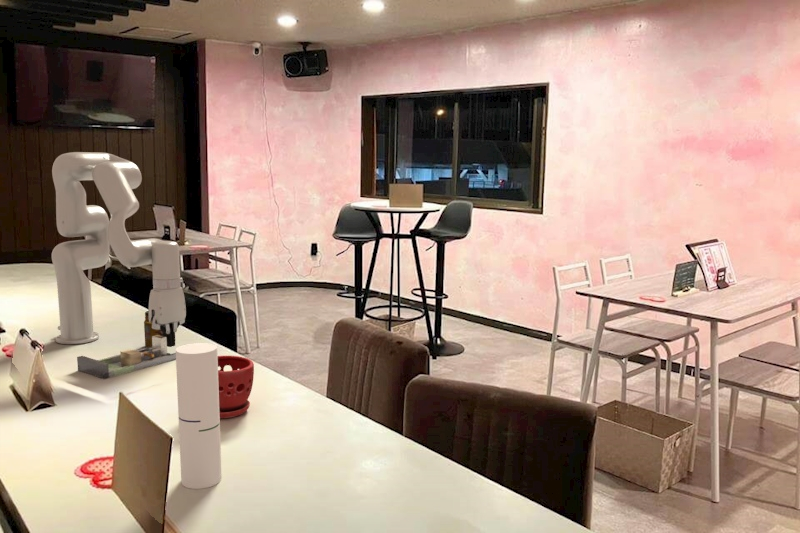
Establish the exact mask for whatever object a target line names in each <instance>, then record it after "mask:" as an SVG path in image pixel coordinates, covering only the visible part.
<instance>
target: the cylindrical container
mask: <svg viewBox="0 0 800 533" xmlns="http://www.w3.org/2000/svg"><path fill="white" fill-rule="evenodd" d="M175 353H176V359H175V364H176V365H175V366H176V367H175V368H176V387H177V388H176V389H177V409H178V411H177V412H178V413H177V414H178V433H179V435H178V436H179V456H180V457H179V458H180V459H179V460H180V483H181V485H182V486H183V487H185V488H186V489H187V488H188V489H192V490H202V489H207V488H210V487H214V486H216V485H217V484H219V483H220V482H221V480H222V478H223V477H222V476H223V475H222V457H221V456H222V455H221V453H222V451H221V450H222V448H221V446H222V445H221V421H220V420H221V418H220V414H219V385H218V370H219V367H218V356H219V355H218V346H217V345H216V344H214V343H210V342H195V343H188V344H183V345H180V346H177V347H176V348H175Z"/></svg>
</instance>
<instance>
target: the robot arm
mask: <svg viewBox="0 0 800 533" xmlns="http://www.w3.org/2000/svg"><path fill="white" fill-rule="evenodd" d="M52 164H53V165H52V169H51V174H52V181H53V184H54V189H55V215H56V218H55V220H56V228H57V232H58V233H59V235H61V236H62V237H65V238H75V237H85V239H78V240H77V239H76V240H68V241H63V242H60V243H58V244H57V245H56V246H55V247H54V248H53V249H52V252H51V261H52V266H53V269H54V272H55V278H56V287H57V298H58V299H57V301H58V312H59V314H58V315H59V325H58V326H57V330H58V331H60V334H58V335H57V336H56V337H55V342H56V343H58V344H62V345H81V344H87V343H90V342H95V341H97V340H99V338H100V334H99V333H98V332H96V331H94V317H93V303H92V302H93V301H92V287H91V282H90V279H89V278H88V277H87V276H86V274H85V272H84V271H85V270H90V269H92V270H93V269H97V268H101V267H103V266H105V265H106V264H107V263H108V261H109V259H110V252H111V250H110V248H111V249H112V251H113V253H114V255H115V257H116V258H117V260H118V261H119V262H120V264H121V265H123V266H124V267H127V268H137V267H141V266H149V265H151V266H152V285H153V286H152V287H153V288H152V289H150V293H149V298H148V311H149V322H150V323H152V329H159V330H160V331H161V332H162V333H163V336H164V337H167V348H168V347H169V348H172V347H175V346H176V333H177V331H178V328H179V326H181V325H183V324H185V321H186V316H187V307H186V299H185V294H184V289H183V287H181V286H182V285H181V283H183V281H184V280H183V277H181V266H180V246H179V244H178V242H176V241H175V240H174V241H172V240H162V239H159V238H155V237H153V238H143V239H135V240H134V239H133V240H131V239H130V237H129V235H128V233H127V229H126V226H125V223H126V222H125V221H126V219H128V218H130V217H132V216H133V215H135V213H137V212H138V210H139V208H140V202H139V201H138V198H137V197H136V196H135V194H134V191H133V190H134V189H135V190H136V189H137V188H138V187H139V186H140V185H141V183H142V180H143V178H142V173H141V172H142V171H140V168H139V166H138V165H137V164H135V163H134V162H133V161H130V160H128V159H125V158H122V157H119V156H117V155H115V154H112V153H108V152H99V151H98V152H93V151H92V152H88V151H87V152H86V151H84V152H83V151H73V152H72V151H71V152H66V153H62V154H60V155H58V156H57V157H56V158H55V160H54V162H53V163H52ZM80 181H93V182H94V185H95V186H96V189H97V190H98V192H99V194H100V196H101V199H102V200H103V202H104V204H105V206H106V209H107V210H108V212H109V214H110V218H109V216H108V213H107V212H106V210H105V209H104V208H103V207H101V206H99V205H96V204H89V205H87V192H86V189H85V188H84V186H83V185H82V183H81V182H80Z"/></svg>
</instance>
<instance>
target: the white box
mask: <svg viewBox="0 0 800 533" xmlns="http://www.w3.org/2000/svg"><path fill="white" fill-rule="evenodd" d="M152 347H153V350H149V351H145V352H141V362H143V361H144V360H147V359H150V358H154V357H158V356H159V357H162V354H165V353H168V346H167V337H164V336H160V335H155V336H152Z"/></svg>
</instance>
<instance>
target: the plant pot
mask: <svg viewBox="0 0 800 533" xmlns="http://www.w3.org/2000/svg"><path fill="white" fill-rule="evenodd" d="M254 365H255V363H254V362H253V361H252V359H249V358H247V357H243V356H238V355H218V368H220V369H218V385H219V414H220V419H228V418H234V417H237V416H238V417H239V416H240V415H242V414H244V413H245V412H246V411H247V410H249V408H250V405H251V403H250V401H249V400H248V399H249V398H250V395H251V392H252V390H253V384H254V375H255V373H254V372H255V369H254V367H255V366H254ZM226 366H230V367H231V370H225V369H224V368H225V367H226Z"/></svg>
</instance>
